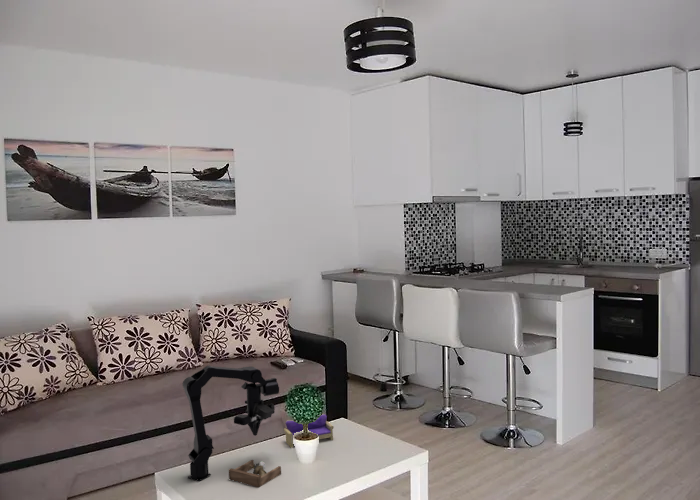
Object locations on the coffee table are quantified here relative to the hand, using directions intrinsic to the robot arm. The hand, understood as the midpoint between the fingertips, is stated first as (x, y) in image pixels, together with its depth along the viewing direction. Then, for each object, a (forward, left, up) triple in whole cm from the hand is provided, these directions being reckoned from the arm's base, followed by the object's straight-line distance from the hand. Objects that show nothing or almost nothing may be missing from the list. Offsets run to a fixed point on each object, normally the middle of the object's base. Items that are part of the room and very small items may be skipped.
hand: (255, 435), depth 253 cm
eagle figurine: (-11, -11, -12) cm, 19 cm away
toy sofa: (+30, -5, -12) cm, 33 cm away
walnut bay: (-11, -9, -12) cm, 18 cm away
